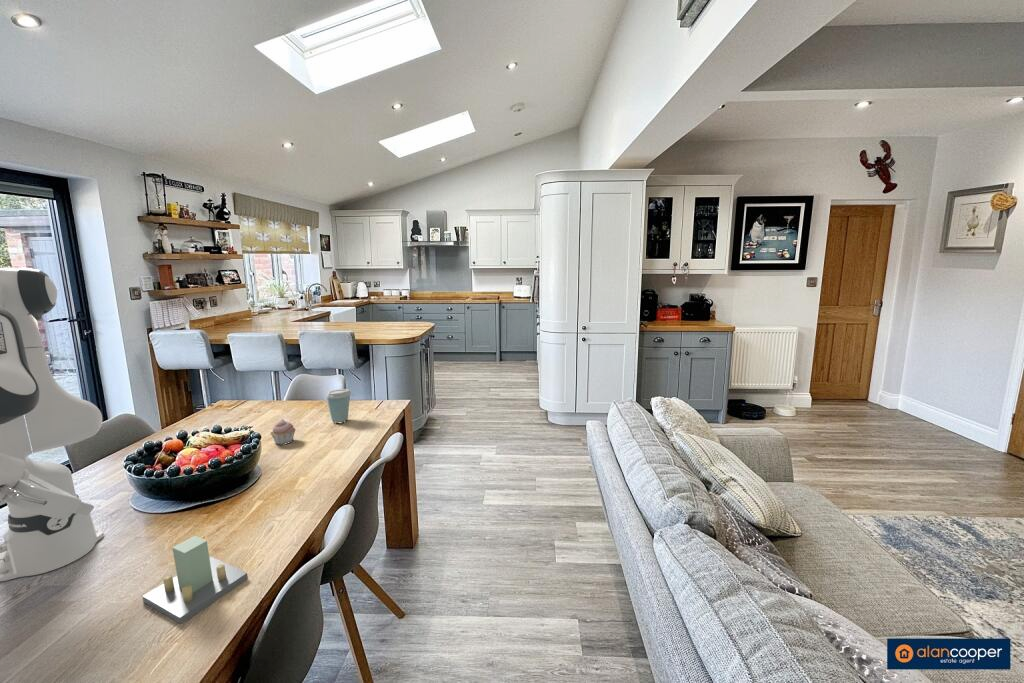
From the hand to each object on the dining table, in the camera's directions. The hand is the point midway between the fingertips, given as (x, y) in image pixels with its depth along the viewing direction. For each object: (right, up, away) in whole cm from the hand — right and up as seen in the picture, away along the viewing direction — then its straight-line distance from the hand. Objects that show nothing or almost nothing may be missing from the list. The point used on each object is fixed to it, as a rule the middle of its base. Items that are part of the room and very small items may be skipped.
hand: (77, 503), depth 81 cm
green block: (+12, -23, +14) cm, 30 cm away
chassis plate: (+12, -25, +14) cm, 31 cm away
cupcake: (-11, -11, +94) cm, 95 cm away
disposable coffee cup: (+3, -6, +117) cm, 117 cm away
